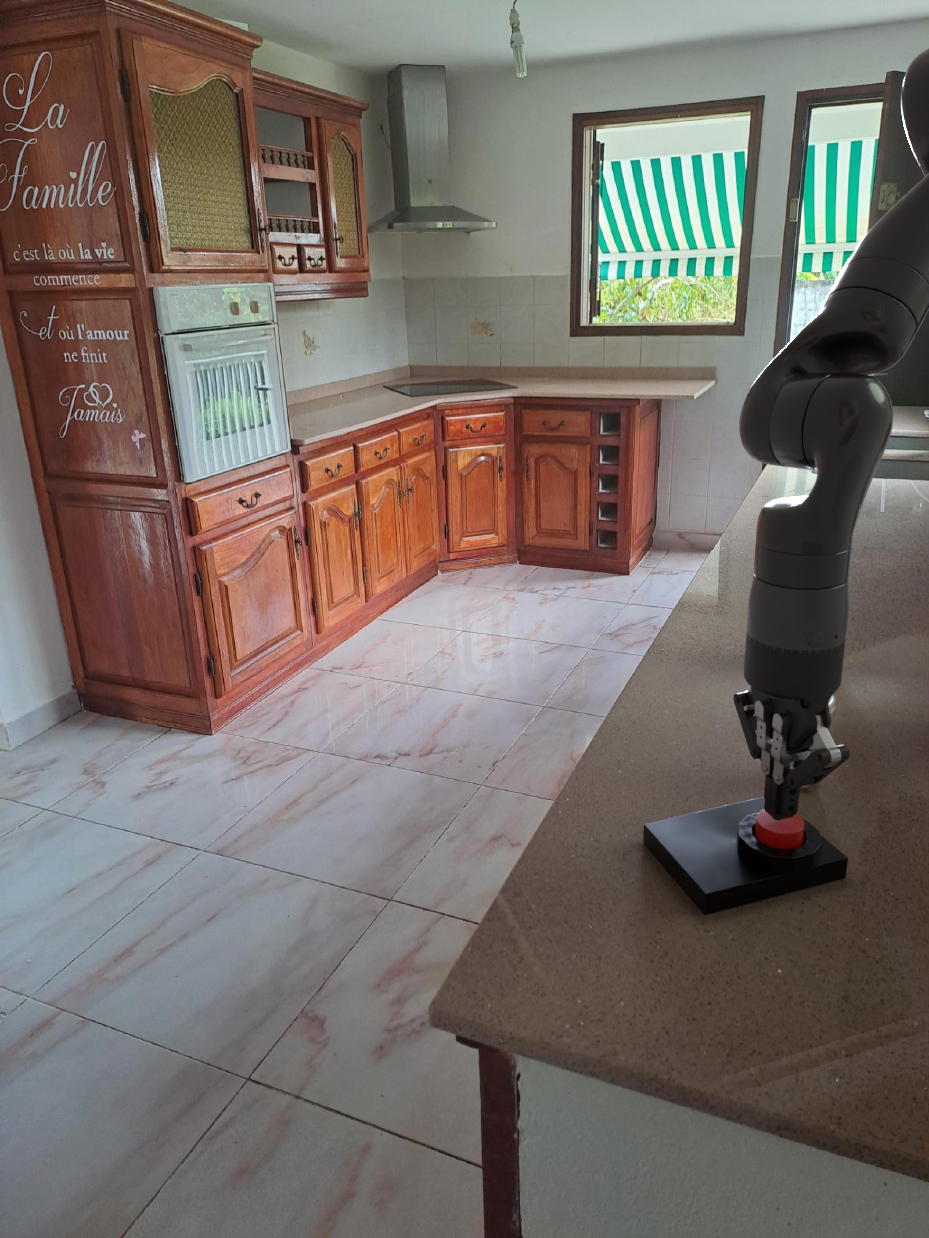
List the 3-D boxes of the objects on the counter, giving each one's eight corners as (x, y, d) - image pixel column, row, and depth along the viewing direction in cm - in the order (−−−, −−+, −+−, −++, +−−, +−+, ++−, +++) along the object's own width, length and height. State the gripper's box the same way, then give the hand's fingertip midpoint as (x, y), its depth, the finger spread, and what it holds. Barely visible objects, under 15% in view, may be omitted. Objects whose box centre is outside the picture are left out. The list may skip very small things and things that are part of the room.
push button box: (770, 813, 87) (773, 778, 86) (849, 881, 77) (854, 842, 75) (643, 843, 84) (643, 807, 82) (707, 919, 73) (709, 879, 72)
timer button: (784, 820, 80) (785, 804, 79) (812, 845, 76) (814, 827, 76) (745, 829, 79) (746, 813, 78) (772, 855, 75) (774, 837, 75)
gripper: (894, 651, 65) (868, 847, 72) (785, 598, 77) (771, 770, 83) (808, 667, 64) (789, 867, 70) (709, 610, 76) (701, 785, 82)
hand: (779, 814), depth 77 cm, fingers closed
